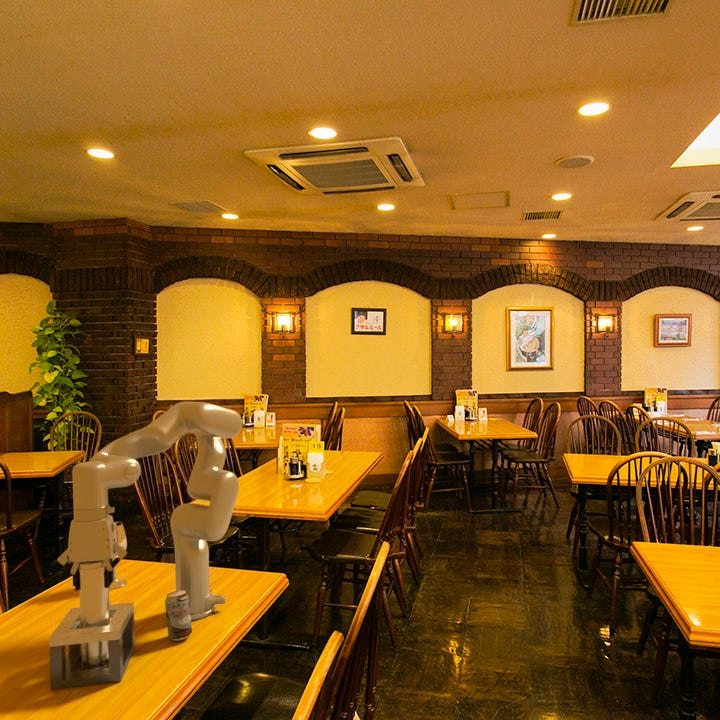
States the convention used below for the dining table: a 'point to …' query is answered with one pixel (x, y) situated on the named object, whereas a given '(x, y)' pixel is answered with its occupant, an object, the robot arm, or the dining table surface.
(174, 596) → the beverage can
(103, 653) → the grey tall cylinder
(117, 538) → the wineglass
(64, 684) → the collar stand
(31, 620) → the dining table surface
